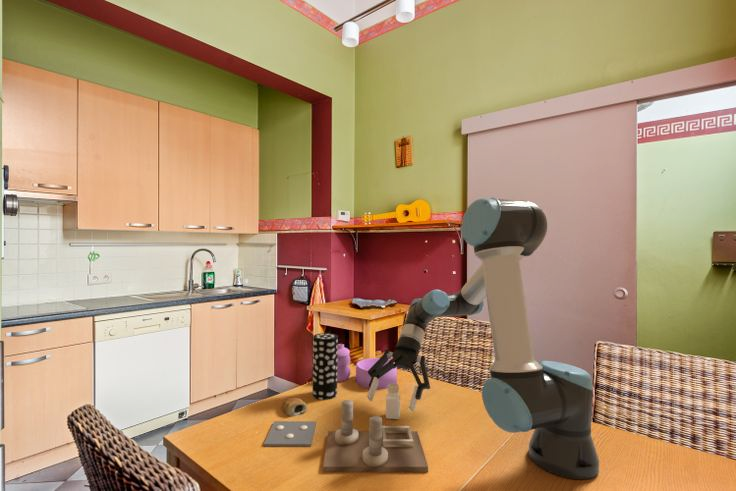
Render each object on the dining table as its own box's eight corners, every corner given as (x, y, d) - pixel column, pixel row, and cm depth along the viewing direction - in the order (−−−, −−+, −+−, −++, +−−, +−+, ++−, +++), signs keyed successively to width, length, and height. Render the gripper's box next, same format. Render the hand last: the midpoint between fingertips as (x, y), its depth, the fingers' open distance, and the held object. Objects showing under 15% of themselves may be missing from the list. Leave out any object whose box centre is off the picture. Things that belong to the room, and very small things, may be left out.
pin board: (417, 435, 102) (417, 396, 102) (427, 471, 86) (428, 425, 86) (328, 435, 102) (329, 396, 102) (323, 471, 86) (323, 425, 86)
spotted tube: (332, 400, 124) (333, 340, 123) (308, 398, 125) (309, 338, 125) (339, 391, 132) (340, 334, 132) (317, 388, 134) (317, 332, 133)
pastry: (276, 407, 119) (276, 395, 119) (296, 402, 123) (296, 390, 123) (289, 418, 112) (289, 405, 112) (309, 412, 116) (310, 400, 116)
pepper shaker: (385, 419, 112) (386, 387, 111) (386, 413, 116) (387, 382, 115) (399, 420, 111) (399, 388, 111) (399, 414, 115) (400, 383, 115)
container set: (397, 375, 148) (398, 342, 148) (395, 390, 133) (395, 353, 133) (335, 371, 152) (335, 338, 151) (326, 386, 136) (326, 349, 136)
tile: (316, 423, 108) (316, 420, 108) (310, 446, 97) (310, 442, 96) (274, 423, 108) (274, 420, 108) (263, 446, 96) (263, 442, 96)
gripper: (449, 353, 120) (433, 419, 108) (379, 342, 132) (357, 400, 120) (444, 340, 116) (427, 408, 103) (372, 330, 128) (349, 389, 115)
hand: (389, 404), depth 111 cm, fingers open, 13 cm apart
